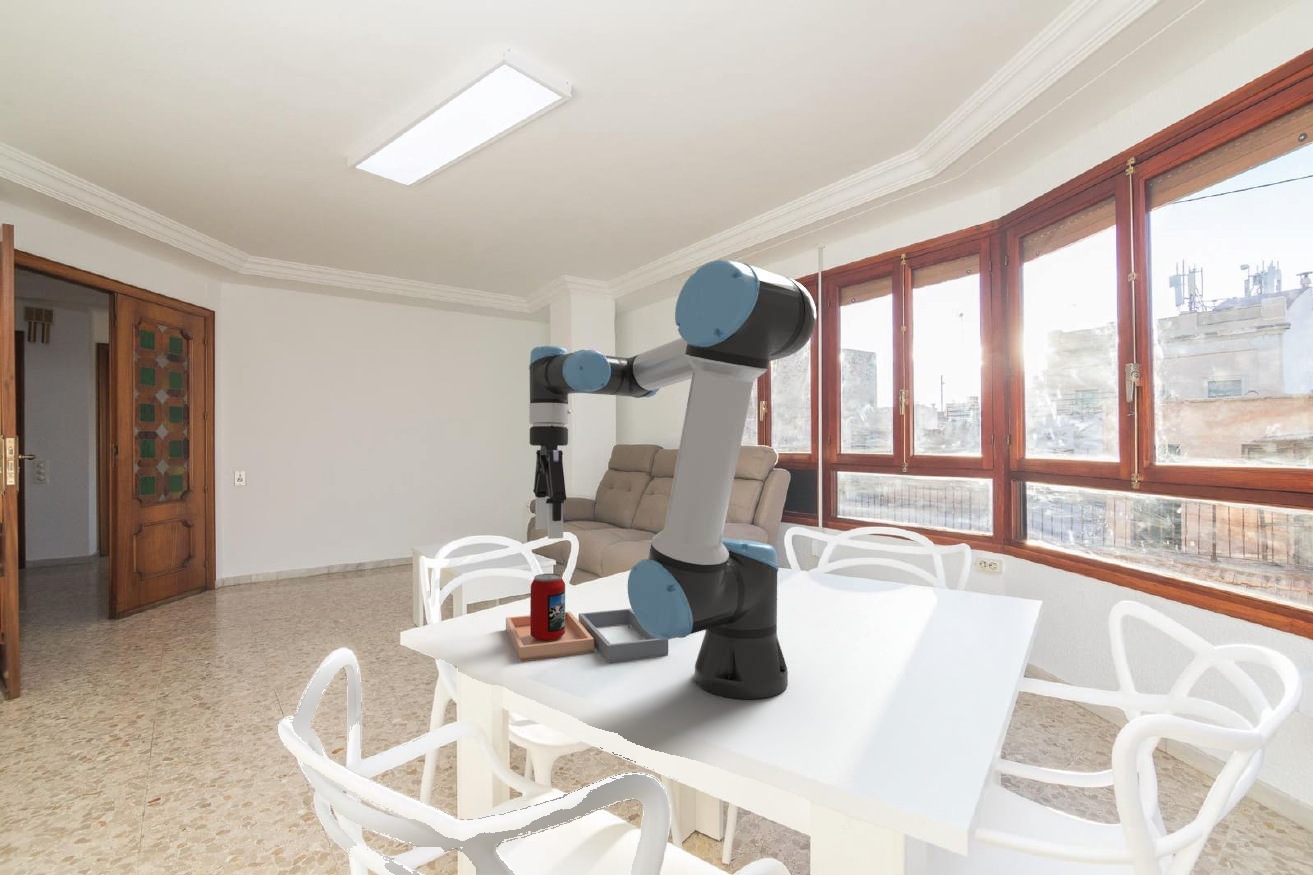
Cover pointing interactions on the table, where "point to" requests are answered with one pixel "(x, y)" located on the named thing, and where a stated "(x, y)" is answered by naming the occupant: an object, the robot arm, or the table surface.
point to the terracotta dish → (533, 649)
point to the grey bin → (625, 649)
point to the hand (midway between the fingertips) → (548, 533)
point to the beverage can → (547, 607)
